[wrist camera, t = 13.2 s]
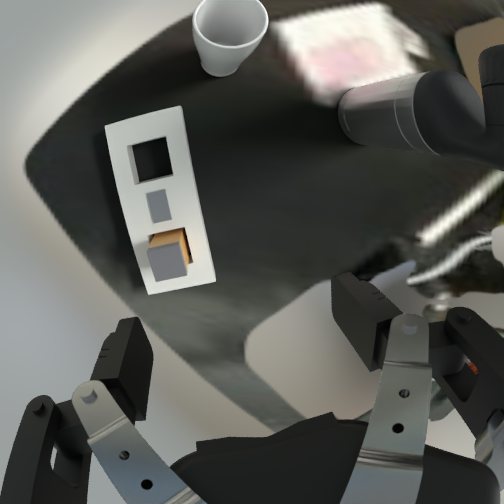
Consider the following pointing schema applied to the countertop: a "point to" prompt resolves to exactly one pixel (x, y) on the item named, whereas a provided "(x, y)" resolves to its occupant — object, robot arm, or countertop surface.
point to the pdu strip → (160, 195)
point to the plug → (169, 254)
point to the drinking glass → (227, 33)
